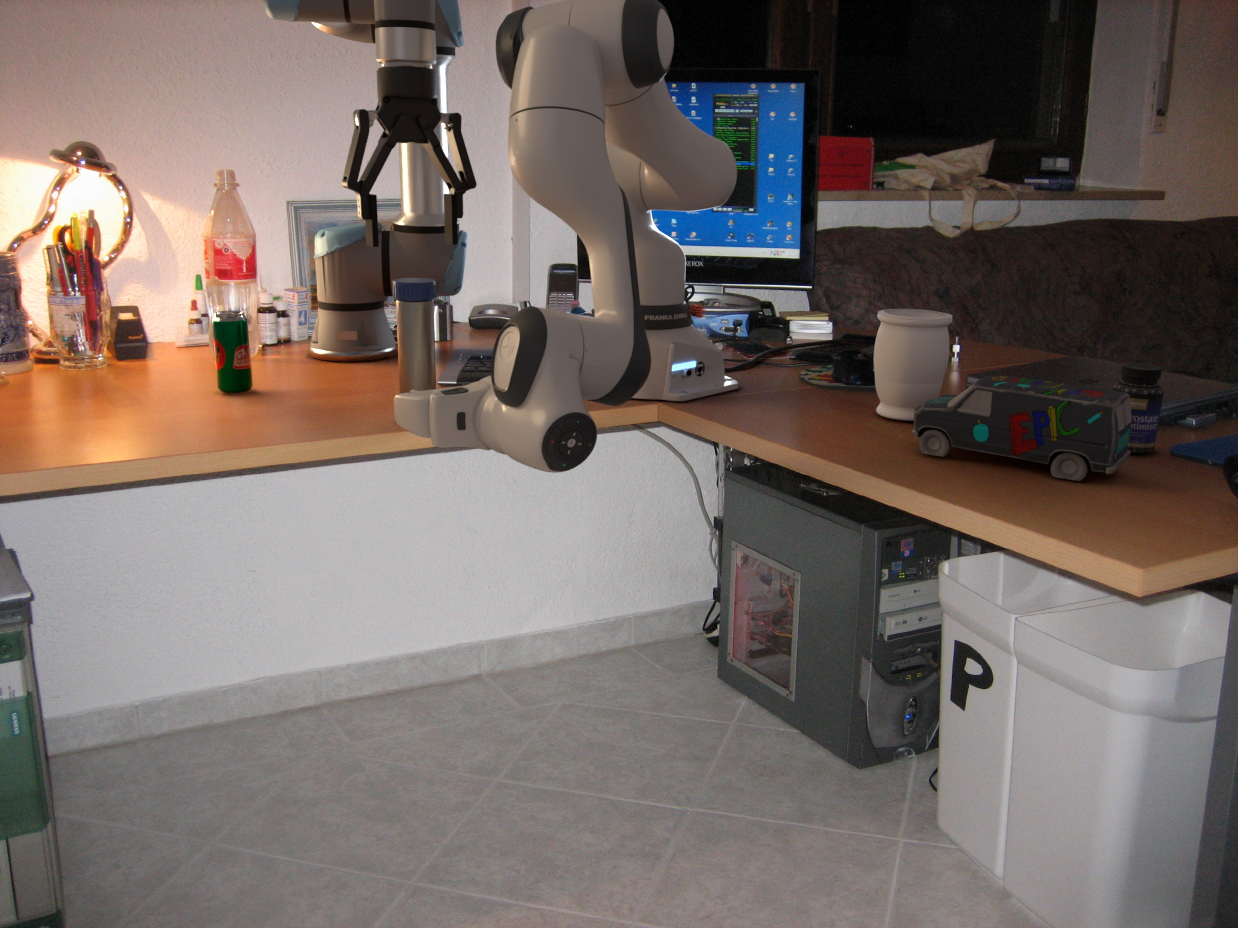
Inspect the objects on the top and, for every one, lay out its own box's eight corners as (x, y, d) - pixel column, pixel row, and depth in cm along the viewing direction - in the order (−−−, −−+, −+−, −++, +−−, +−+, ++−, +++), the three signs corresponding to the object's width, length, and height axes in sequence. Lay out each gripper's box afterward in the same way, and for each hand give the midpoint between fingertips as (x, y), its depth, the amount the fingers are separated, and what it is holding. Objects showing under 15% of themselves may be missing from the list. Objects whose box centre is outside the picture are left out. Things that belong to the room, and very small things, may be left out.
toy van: (934, 435, 146) (942, 362, 143) (1130, 468, 132) (1143, 388, 129) (905, 451, 137) (912, 375, 134) (1110, 488, 123) (1124, 404, 121)
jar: (854, 409, 159) (862, 309, 155) (910, 404, 163) (920, 306, 159) (898, 426, 150) (909, 320, 146) (957, 420, 154) (969, 317, 150)
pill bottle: (1117, 454, 138) (1130, 370, 135) (1094, 442, 144) (1106, 361, 140) (1163, 454, 138) (1177, 370, 135) (1139, 442, 144) (1152, 361, 141)
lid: (412, 302, 140) (411, 284, 139) (384, 297, 143) (383, 280, 142) (445, 298, 144) (444, 280, 143) (417, 294, 147) (416, 276, 147)
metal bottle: (416, 427, 145) (411, 286, 140) (393, 421, 148) (387, 283, 143) (444, 421, 149) (440, 283, 143) (421, 415, 152) (416, 280, 146)
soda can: (241, 395, 161) (235, 315, 157) (211, 393, 162) (204, 314, 158) (259, 388, 165) (253, 311, 162) (229, 386, 166) (223, 309, 163)
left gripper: (477, 73, 144) (480, 240, 150) (308, 63, 133) (318, 244, 139) (501, 70, 138) (503, 245, 144) (325, 59, 126) (336, 249, 133)
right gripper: (573, 378, 133) (517, 360, 144) (422, 397, 122) (374, 375, 133) (572, 427, 135) (518, 405, 146) (424, 450, 124) (377, 424, 135)
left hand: (412, 245), depth 141 cm, fingers open, 10 cm apart
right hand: (448, 391), depth 139 cm, fingers open, 8 cm apart
